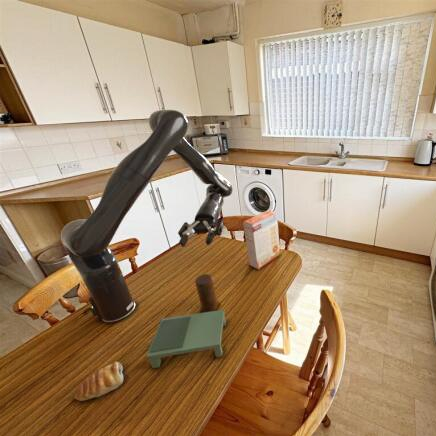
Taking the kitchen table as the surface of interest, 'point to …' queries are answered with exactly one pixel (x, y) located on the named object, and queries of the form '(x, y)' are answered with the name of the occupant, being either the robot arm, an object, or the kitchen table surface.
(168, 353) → the stand
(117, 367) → the pastry
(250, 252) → the cracker box
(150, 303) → the kitchen table surface
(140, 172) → the robot arm
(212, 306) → the pepper mill
